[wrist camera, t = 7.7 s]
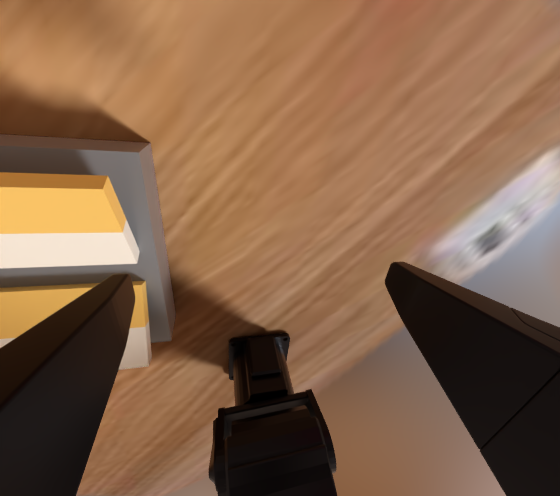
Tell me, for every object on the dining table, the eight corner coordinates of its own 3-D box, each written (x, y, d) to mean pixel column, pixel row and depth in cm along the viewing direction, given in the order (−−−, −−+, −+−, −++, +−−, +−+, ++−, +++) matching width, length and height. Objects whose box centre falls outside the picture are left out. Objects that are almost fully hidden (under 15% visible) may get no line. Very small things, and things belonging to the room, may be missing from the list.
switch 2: (151, 358, 20) (148, 366, 19) (-50, 379, 17) (-67, 390, 16) (145, 280, 18) (141, 285, 17) (-72, 291, 16) (-90, 297, 15)
